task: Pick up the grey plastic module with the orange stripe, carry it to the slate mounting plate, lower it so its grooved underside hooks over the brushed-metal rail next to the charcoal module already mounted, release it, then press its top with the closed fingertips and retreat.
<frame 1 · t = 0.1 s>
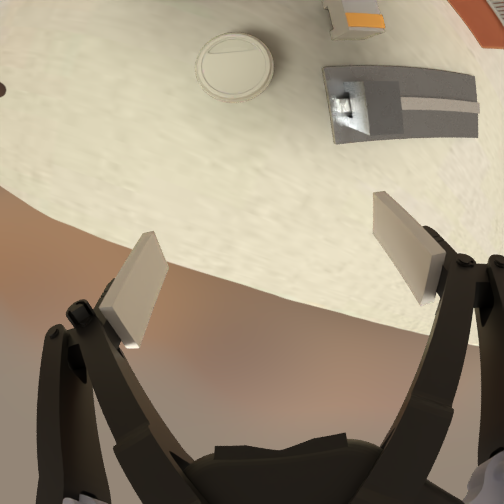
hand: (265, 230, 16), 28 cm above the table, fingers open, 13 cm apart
rail board: (412, 102, 35), on the table
coffee cup: (238, 73, 34), on the table
control panel: (468, 17, 23), on the table
module: (342, 19, 28), on the table
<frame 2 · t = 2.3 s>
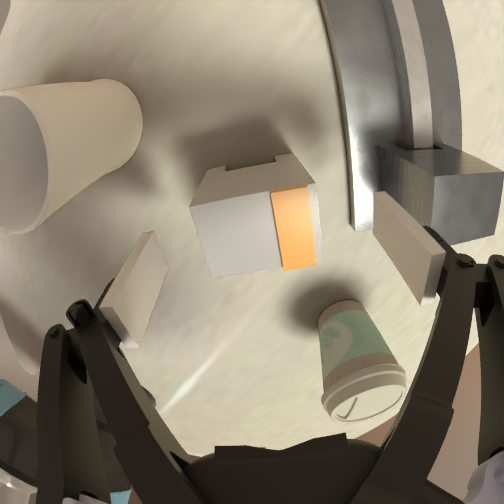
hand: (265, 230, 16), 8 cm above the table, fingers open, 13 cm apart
mug: (86, 120, 19), on the table
rail board: (398, 59, 16), on the table
coffee cup: (341, 317, 31), on the table
module: (255, 188, 23), on the table
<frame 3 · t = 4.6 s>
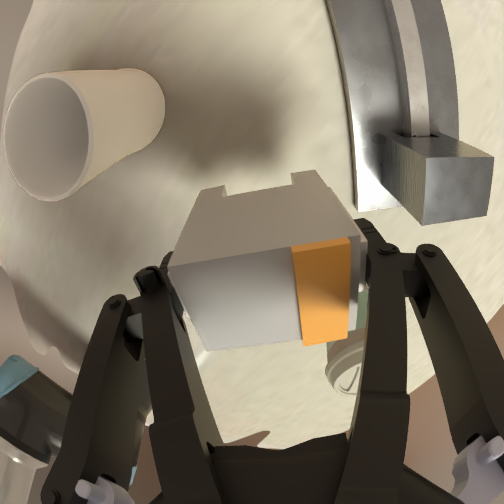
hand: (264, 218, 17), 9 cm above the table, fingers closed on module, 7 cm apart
mug: (111, 105, 21), on the table
rail board: (398, 55, 18), on the table
coffee cup: (345, 295, 33), on the table
module: (264, 216, 18), point 9 cm above the table, touching gripper
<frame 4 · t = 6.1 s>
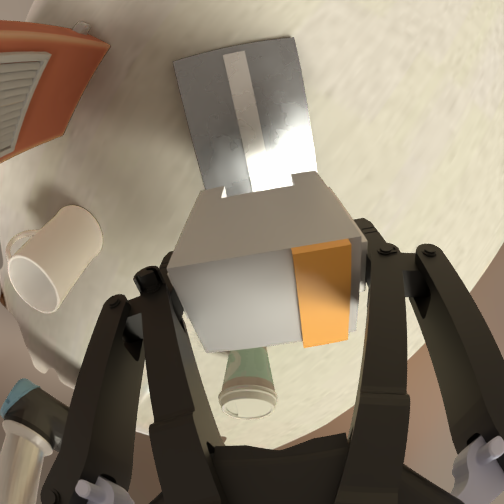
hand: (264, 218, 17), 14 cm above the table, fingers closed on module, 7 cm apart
mug: (69, 227, 33), on the table
rail board: (261, 180, 30), on the table
coffee cup: (248, 345, 45), on the table
control panel: (71, 83, 23), on the table
module: (264, 216, 18), point 14 cm above the table, touching gripper
when the fingers open (2 cm above the table, at t = 8.0 s): module stays where it is, resting on rail board.
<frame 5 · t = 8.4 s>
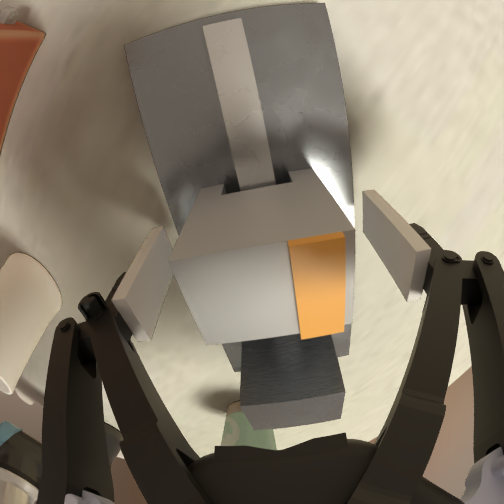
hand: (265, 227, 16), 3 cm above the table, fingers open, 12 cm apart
mug: (23, 277, 23), on the table
rail board: (268, 231, 20), on the table
coffee cup: (248, 407, 35), on the table
control panel: (3, 92, 13), on the table
module: (263, 213, 18), point 1 cm above the table, touching rail board
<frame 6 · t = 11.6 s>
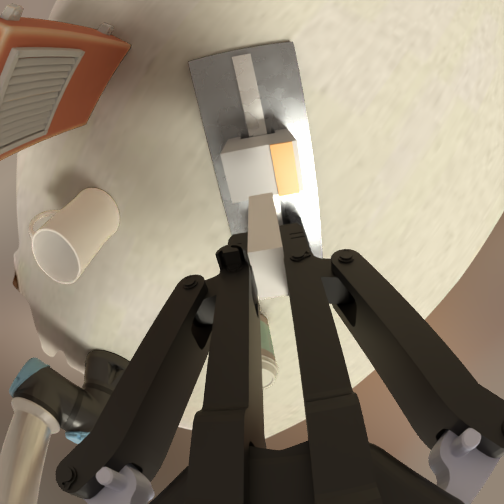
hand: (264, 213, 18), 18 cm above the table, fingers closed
mug: (88, 208, 37), on the table
rail board: (264, 165, 34), on the table
coffee cup: (251, 322, 49), on the table
control panel: (94, 78, 27), on the table
module: (261, 153, 32), point 1 cm above the table, touching rail board
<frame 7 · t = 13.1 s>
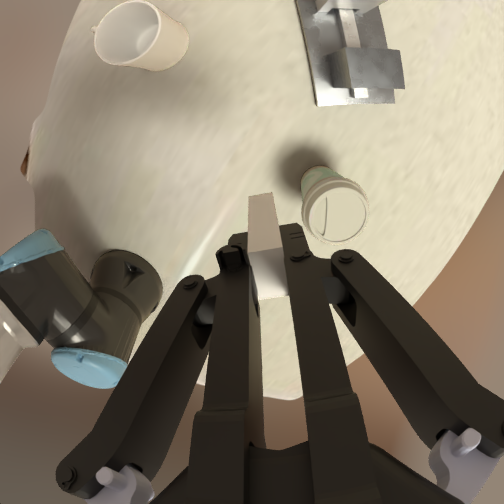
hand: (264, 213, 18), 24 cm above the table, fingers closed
mug: (151, 41, 29), on the table
rail board: (339, 10, 26), on the table
coffee cup: (318, 183, 41), on the table
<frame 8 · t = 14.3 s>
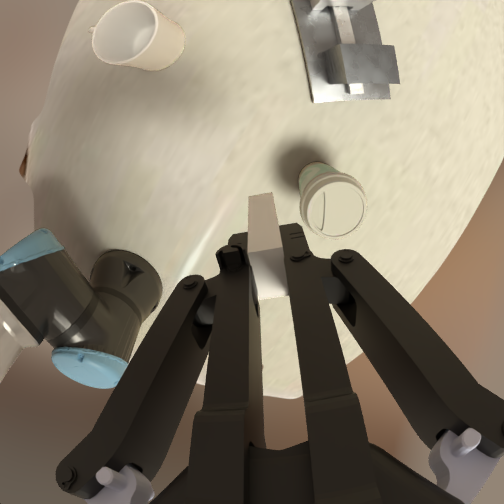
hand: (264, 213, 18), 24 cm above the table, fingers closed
mug: (148, 41, 29), on the table
rail board: (333, 8, 26), on the table
coffee cup: (316, 179, 42), on the table
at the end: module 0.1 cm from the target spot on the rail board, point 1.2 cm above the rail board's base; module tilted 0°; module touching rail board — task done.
